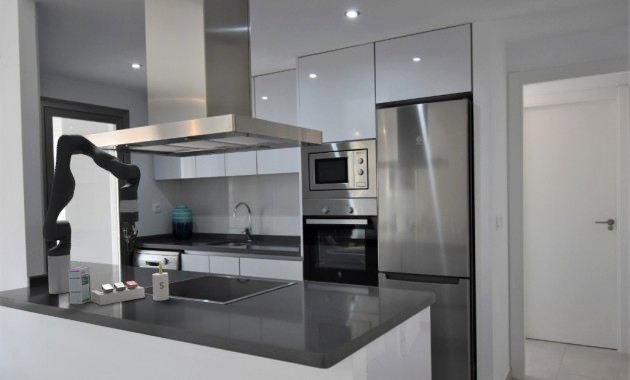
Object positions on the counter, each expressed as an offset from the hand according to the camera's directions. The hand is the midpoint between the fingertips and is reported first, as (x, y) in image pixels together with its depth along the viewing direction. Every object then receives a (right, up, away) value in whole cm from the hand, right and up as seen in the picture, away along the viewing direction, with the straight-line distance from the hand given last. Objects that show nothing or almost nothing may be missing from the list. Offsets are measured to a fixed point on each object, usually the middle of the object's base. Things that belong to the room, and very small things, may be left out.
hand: (130, 251), depth 202 cm
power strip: (-3, -20, +1) cm, 20 cm away
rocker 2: (-3, -14, -3) cm, 15 cm away
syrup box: (-18, -21, -6) cm, 28 cm away
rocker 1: (-7, -15, -6) cm, 17 cm away
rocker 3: (0, -14, 0) cm, 14 cm away
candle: (+15, -20, -4) cm, 25 cm away
